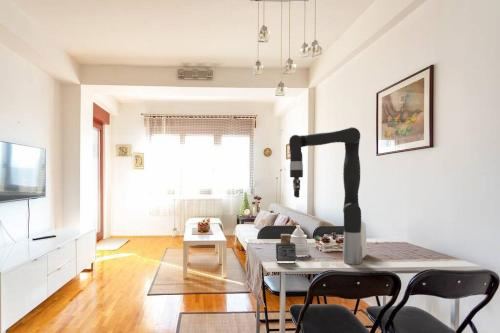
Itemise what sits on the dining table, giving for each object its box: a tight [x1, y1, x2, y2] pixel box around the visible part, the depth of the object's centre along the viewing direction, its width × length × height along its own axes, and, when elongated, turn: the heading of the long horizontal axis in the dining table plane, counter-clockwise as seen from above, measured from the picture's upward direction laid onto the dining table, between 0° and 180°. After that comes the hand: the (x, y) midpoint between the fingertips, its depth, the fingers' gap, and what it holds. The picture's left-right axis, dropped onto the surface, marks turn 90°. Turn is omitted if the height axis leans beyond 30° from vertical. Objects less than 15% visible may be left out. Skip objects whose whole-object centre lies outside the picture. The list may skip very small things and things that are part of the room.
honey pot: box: [290, 225, 310, 255], centre depth 219 cm, size 13×13×18 cm
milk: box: [342, 219, 368, 259], centre depth 217 cm, size 12×12×26 cm
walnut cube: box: [280, 233, 291, 244], centre depth 202 cm, size 5×5×5 cm
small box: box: [275, 242, 297, 262], centre depth 202 cm, size 11×6×10 cm, turn 92°
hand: (296, 196), depth 209 cm, fingers open, 8 cm apart
